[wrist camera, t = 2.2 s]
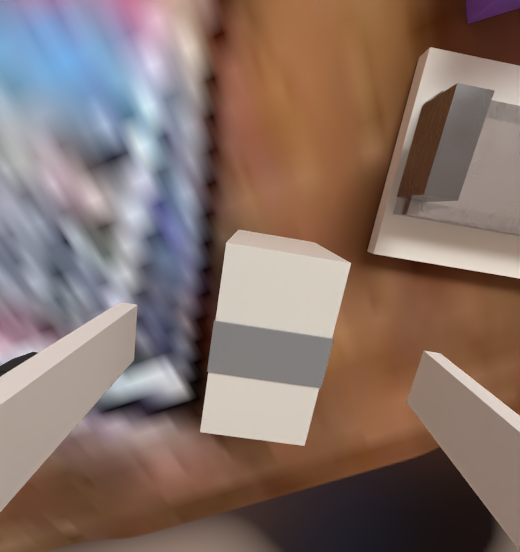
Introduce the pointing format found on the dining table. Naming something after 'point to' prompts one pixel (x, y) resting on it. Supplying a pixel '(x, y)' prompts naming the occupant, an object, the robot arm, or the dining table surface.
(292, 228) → the dining table surface
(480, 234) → the mount plate
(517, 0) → the bracket
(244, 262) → the block
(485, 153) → the rail
